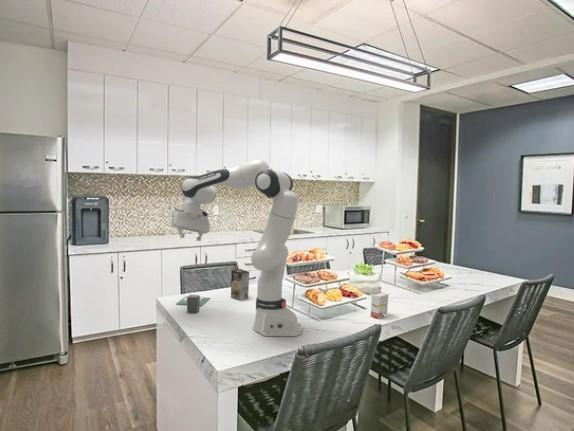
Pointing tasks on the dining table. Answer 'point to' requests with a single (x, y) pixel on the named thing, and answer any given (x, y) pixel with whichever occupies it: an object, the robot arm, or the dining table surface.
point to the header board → (184, 301)
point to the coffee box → (239, 284)
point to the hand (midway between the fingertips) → (190, 239)
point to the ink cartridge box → (379, 303)
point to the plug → (193, 304)
